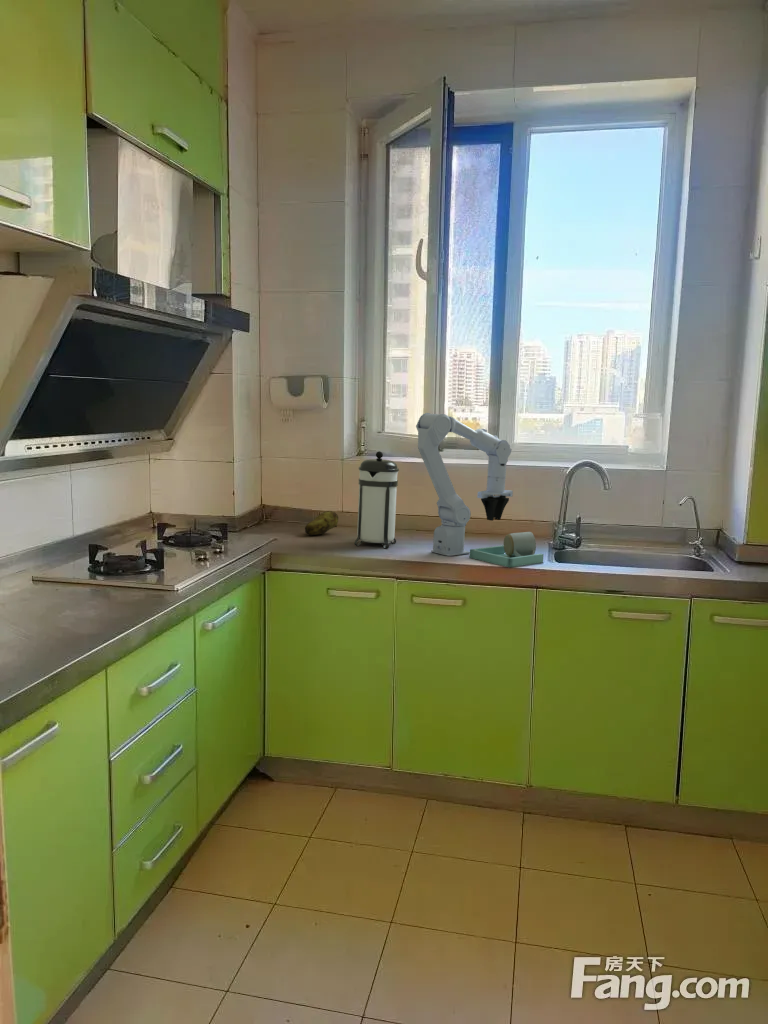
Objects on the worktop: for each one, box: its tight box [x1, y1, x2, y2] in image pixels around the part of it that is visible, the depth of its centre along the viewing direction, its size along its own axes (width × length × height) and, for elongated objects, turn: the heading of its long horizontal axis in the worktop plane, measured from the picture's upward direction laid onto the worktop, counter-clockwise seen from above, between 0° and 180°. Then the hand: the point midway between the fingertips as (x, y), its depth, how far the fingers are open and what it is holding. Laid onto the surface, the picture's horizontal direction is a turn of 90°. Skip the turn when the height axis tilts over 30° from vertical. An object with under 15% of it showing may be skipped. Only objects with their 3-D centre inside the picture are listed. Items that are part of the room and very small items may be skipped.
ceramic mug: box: [503, 531, 537, 557], centre depth 236 cm, size 11×8×8 cm
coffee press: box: [354, 450, 400, 549], centre depth 247 cm, size 17×16×30 cm
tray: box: [469, 544, 544, 568], centre depth 232 cm, size 15×16×2 cm
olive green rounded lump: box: [304, 510, 339, 536], centre depth 262 cm, size 8×13×8 cm, turn 118°
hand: (493, 519), depth 246 cm, fingers open, 3 cm apart
